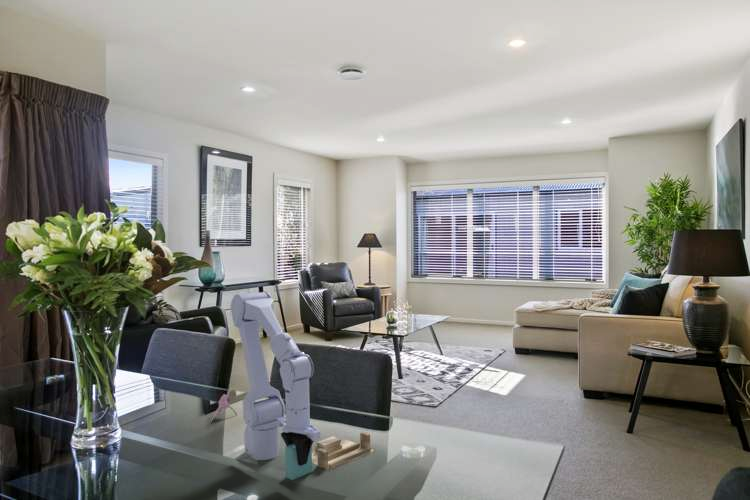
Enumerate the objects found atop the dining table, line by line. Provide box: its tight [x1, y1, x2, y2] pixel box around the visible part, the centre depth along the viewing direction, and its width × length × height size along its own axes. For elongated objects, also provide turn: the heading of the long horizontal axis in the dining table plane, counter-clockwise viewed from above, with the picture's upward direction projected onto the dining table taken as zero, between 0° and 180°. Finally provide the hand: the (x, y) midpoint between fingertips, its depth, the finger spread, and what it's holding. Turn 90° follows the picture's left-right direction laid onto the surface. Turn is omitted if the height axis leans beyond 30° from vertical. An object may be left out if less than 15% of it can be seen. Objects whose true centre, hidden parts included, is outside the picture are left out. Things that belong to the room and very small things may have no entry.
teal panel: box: [284, 444, 313, 481], centre depth 125 cm, size 2×6×8 cm, turn 135°
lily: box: [210, 386, 238, 422], centre depth 170 cm, size 12×12×10 cm
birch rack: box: [312, 431, 375, 472], centre depth 136 cm, size 12×16×5 cm
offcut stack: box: [314, 435, 342, 454], centre depth 138 cm, size 4×7×2 cm, turn 135°
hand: (298, 462), depth 125 cm, fingers open, 2 cm apart
